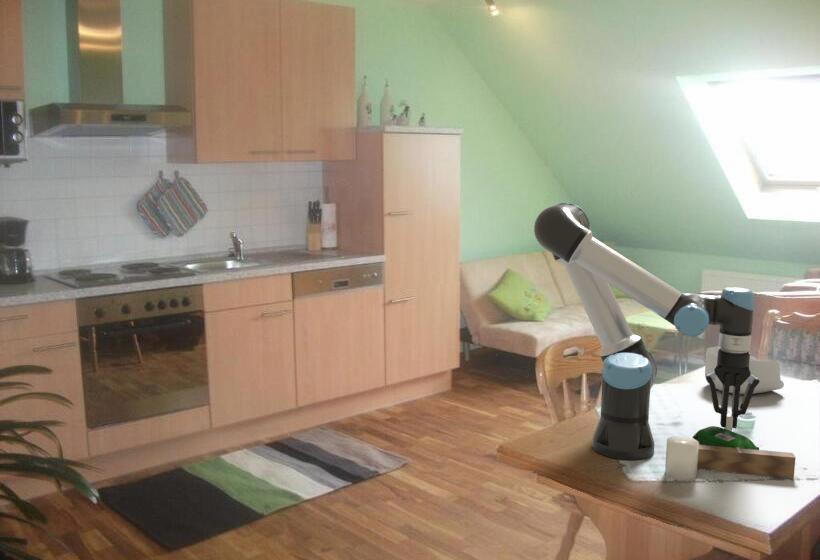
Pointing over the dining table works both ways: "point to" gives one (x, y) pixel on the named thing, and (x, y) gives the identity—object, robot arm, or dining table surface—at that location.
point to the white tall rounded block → (681, 457)
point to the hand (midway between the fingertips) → (727, 439)
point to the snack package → (723, 438)
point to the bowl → (760, 369)
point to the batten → (746, 461)
